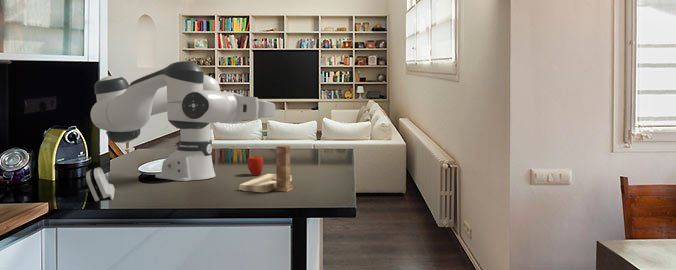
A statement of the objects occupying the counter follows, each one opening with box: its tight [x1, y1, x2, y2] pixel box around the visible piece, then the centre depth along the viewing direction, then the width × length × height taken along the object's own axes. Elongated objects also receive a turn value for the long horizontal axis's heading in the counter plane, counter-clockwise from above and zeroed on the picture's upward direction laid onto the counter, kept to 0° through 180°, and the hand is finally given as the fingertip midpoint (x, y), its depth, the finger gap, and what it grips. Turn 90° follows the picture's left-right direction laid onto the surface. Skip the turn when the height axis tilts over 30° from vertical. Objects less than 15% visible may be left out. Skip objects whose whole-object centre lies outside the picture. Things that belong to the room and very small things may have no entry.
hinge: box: [85, 166, 116, 202], centre depth 163 cm, size 17×5×10 cm, turn 22°
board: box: [238, 173, 293, 193], centre depth 181 cm, size 10×22×2 cm, turn 163°
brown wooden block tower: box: [271, 144, 294, 193], centre depth 173 cm, size 7×5×15 cm
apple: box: [247, 155, 264, 176], centre depth 201 cm, size 6×6×8 cm
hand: (255, 109), depth 157 cm, fingers open, 8 cm apart
